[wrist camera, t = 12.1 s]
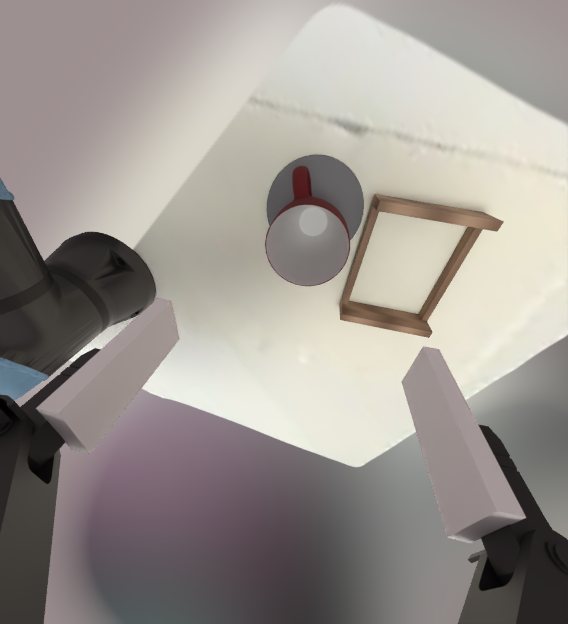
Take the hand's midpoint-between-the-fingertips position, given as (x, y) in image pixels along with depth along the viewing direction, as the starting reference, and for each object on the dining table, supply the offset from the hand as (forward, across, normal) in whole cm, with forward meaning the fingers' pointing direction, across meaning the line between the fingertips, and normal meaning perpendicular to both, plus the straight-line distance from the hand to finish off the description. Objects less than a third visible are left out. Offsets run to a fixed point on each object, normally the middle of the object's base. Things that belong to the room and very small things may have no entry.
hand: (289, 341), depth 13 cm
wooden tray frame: (+23, +12, -4) cm, 27 cm away
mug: (+23, -1, +2) cm, 23 cm away
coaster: (+23, 0, +2) cm, 23 cm away
